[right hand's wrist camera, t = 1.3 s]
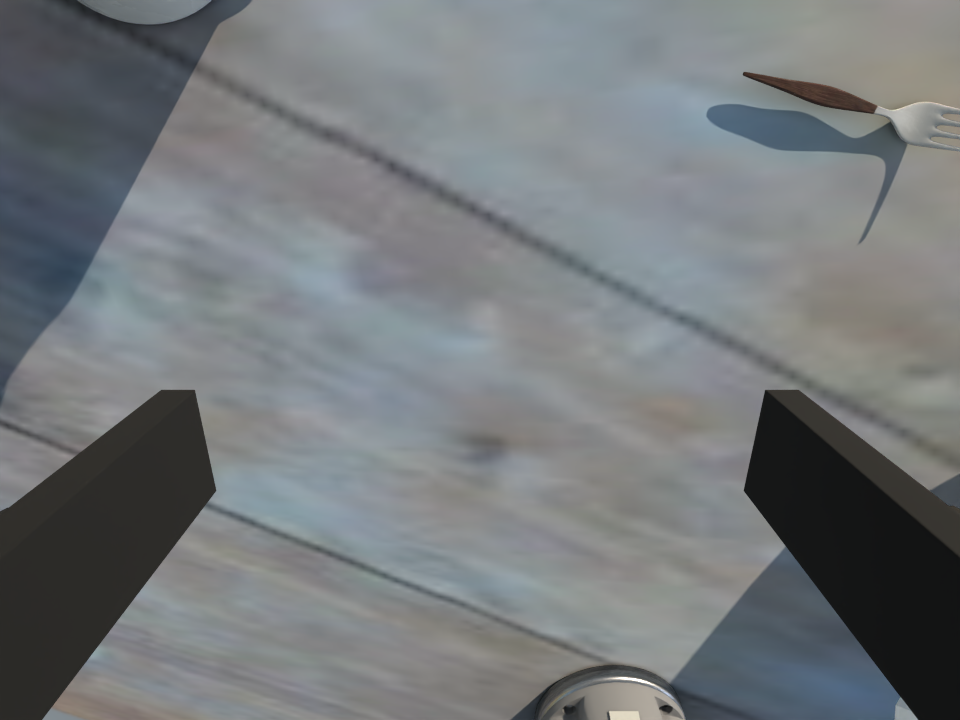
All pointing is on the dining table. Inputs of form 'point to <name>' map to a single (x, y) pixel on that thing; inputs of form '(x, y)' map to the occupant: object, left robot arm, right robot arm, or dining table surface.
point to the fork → (876, 110)
